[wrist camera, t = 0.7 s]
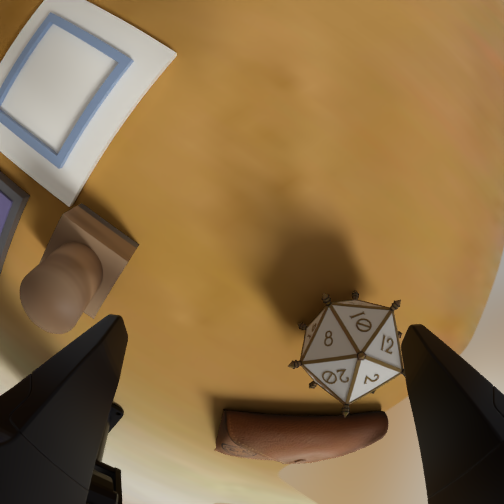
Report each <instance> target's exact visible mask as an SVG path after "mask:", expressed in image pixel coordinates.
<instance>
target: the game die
mask: <svg viewBox="0 0 504 504" xmlns="http://www.w3.org/2000/svg"><path fill="white" fill-rule="evenodd" d="M352 295H353V296H352V298H353V300H346V301H338V302H331V298H329V295H327V294H325V293H323V296H322V300H323V302H324V303H326V306H325V307H324V309H323V310H322V311H321V312H320V313H319V314H318V315H317V316H316V317H315V319H314V320H313V321H312V322H311V323H310V324H309V325H308V326H306V324H303V322H302V323H299V324H298V326H299V329H302V330H306V331H305V336H304V342H303V347H302V353H301V358H300V361H297V360H295V361H292V362H291V363H290V364H289V365H288V367H291V368H293V369H295V368H298V367H299V366H302V368H303V369H304V370H305V371H306V372H307V373H308V375H309V376H310V377H311V378H312V379H313V381H312V382H311V383H309V388H315V387H316V385H317V384H318V385H319V386H320V387H321V388H323V389H324V390H325V391H327V392H328V393H329V394H331V395H332V396H333V397H335V398H336V399H337V400H339V401H340V402H341V403H343V404H344V406H343V408H342V411H341V412H342V413H343V415H344V417H346V416H347V414H348V413H350V412H349V410H350V408H349V405H350V404H352V403H353V402H355V401H357V400H359V399H360V398H362V397H364V396H366V395H367V394H369V393H373V394H374V392H375V390H376V389H378V388H379V387H381V386H383V385H384V384H386V383H387V382H389V381H391V380H392V379H394V378H395V377H397V376H398V375H400V374H403V375H404V377H405V371H404V369H403V362H402V355H401V349H400V343H399V338H401V335H402V333H401V332H400V331H397V326H396V321H395V315H394V310H395V309H398V307H400V302H401V300H397V301H394V303H392V306H391V307H390V308H389V307H385V306H381V305H377V304H373V303H369V302H365V301H361V300H357V299H358V298H359V296H358V295H359V294H358V293H357V291H356V290H355V291H354V293H352Z"/></svg>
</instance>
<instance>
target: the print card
mask: <svg viewBox="0 0 504 504" xmlns="http://www.w3.org/2000/svg"><path fill="white" fill-rule="evenodd" d="M176 56H177V53H176V52H174V51H173V50H171V49H170V48H168V47H166V46H165V45H163V44H162V43H160V42H158V41H157V40H155V39H154V38H152V37H150V36H149V35H147V34H145V33H144V32H142V31H140V30H139V29H137V28H135V27H134V26H132V25H130V24H128V23H127V22H125V21H123V20H121V19H120V18H118V17H116V16H114V15H112V14H111V13H109V12H107V11H105V10H103V9H101V8H99V7H97V6H96V5H94V4H92V3H90V2H88V1H86V0H44V1H43V2H42V4H41V5H40V6H39V7H38V9H37V10H36V11H35V13H34V14H33V15H32V16H31V18H30V19H29V21H28V22H27V23H26V25H25V26H24V27H23V29H22V30H21V32H20V33H19V35H18V36H17V38H16V39H15V41H14V42H13V44H12V45H11V47H10V48H9V50H8V51H7V53H6V55H5V56H4V58H3V60H2V61H1V63H0V152H2V153H3V154H4V155H5V156H6V157H7V158H9V159H10V160H11V161H12V162H13V163H15V164H16V165H17V166H18V167H19V168H21V169H22V170H23V171H24V172H25V173H27V174H28V175H29V176H30V177H32V178H33V179H34V180H35V181H37V182H38V183H39V184H40V185H42V186H43V187H44V188H45V189H47V190H48V191H49V192H50V193H52V194H53V195H54V196H56V197H57V198H58V199H59V200H61V201H62V202H63V203H65V204H66V205H67V206H69V207H71V206H72V205H73V204H74V202H75V200H76V199H77V197H78V195H79V193H80V191H81V190H82V188H83V186H84V184H85V183H86V181H87V179H88V178H89V176H90V174H91V173H92V171H93V169H94V168H95V166H96V164H97V163H98V161H99V159H100V158H101V156H102V155H103V153H104V152H105V150H106V149H107V147H108V145H109V144H110V142H111V141H112V139H113V138H114V136H115V135H116V133H117V132H118V131H119V129H120V128H121V126H122V125H123V123H124V122H125V121H126V119H127V118H128V116H129V115H130V114H131V112H132V111H133V110H134V108H135V107H136V105H137V104H138V103H139V101H140V100H141V99H142V98H143V96H144V95H145V94H146V92H147V91H148V90H149V89H150V87H151V86H152V85H153V84H154V82H155V81H156V80H157V79H158V77H159V76H160V75H161V74H162V73H163V71H164V70H165V69H166V68H167V67H168V65H169V64H170V63H171V62H172V61H173V60H174V58H175V57H176Z"/></svg>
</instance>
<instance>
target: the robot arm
mask: <svg viewBox="0 0 504 504" xmlns="http://www.w3.org/2000/svg"><path fill="white" fill-rule="evenodd" d="M127 342H128V334H127V331H126V328H125V324H124V321H123V318H122V317H121V316H119V315H112V314H110V315H108V316H106V317H105V318H103V319H102V320H101V321H99V322H98V323H97V324H95V325H94V326H93V327H91V328H90V329H89V330H87V331H86V332H85V333H83V334H82V335H81V336H79V337H78V338H77V339H75V340H74V341H73V342H71V343H70V344H69V345H67V346H66V347H65V348H63V349H62V350H61V351H59V352H58V353H57V354H55V355H54V356H53V357H52V358H50V359H49V360H48V361H46V362H45V363H44V364H42V365H41V366H40V367H39V368H37V369H36V370H35V371H33V372H32V374H30V375H28V376H27V377H26V378H24V379H23V380H22V381H20V382H19V383H18V384H16V385H15V386H14V387H13V388H11V389H10V390H8V391H7V392H5V393H4V394H2V395H1V396H0V504H122V488H121V470H120V469H118V468H116V467H115V468H113V467H111V466H109V465H107V464H105V463H103V462H102V457H103V453H104V448H105V444H106V440H107V436H108V433H109V432H110V431H111V429H112V428H113V427H114V426H115V425H116V424H117V422H118V421H119V420H120V419H121V418H122V416H123V414H124V411H123V409H121V408H119V407H117V406H115V405H113V404H112V402H113V399H114V396H115V392H116V389H117V386H118V383H119V379H120V374H121V369H122V365H123V360H124V355H125V351H126V346H127ZM401 351H402V358H403V364H404V371H405V378H406V385H407V391H408V395H409V399H410V403H411V408H412V412H413V417H414V422H415V426H416V431H417V436H418V441H419V447H420V452H421V458H422V463H423V469H424V476H425V482H426V489H427V496H428V504H504V394H502V393H501V392H500V391H499V390H498V389H497V388H496V387H495V386H493V385H492V384H491V383H490V382H489V381H488V380H487V379H486V378H484V377H483V376H482V375H480V373H479V372H478V371H477V370H475V369H474V368H473V367H472V366H471V365H470V364H468V363H467V362H466V361H465V360H464V359H463V358H462V357H460V356H459V355H458V354H457V353H456V352H455V351H453V350H452V349H451V348H450V347H449V346H447V345H446V344H445V343H444V342H443V341H442V340H440V339H439V338H438V337H437V336H436V335H434V334H433V333H432V332H431V331H430V330H428V329H427V328H426V327H425V326H423V325H422V324H413V325H410V326H409V328H408V330H407V332H406V334H405V337H404V339H403V341H402V344H401Z"/></svg>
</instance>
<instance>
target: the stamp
mask: <svg viewBox="0 0 504 504" xmlns="http://www.w3.org/2000/svg"><path fill="white" fill-rule="evenodd" d="M138 246H139V244H138V243H136V242H135V241H133V240H132V239H130V238H129V237H128V236H126V235H125V234H123V233H122V232H121V231H119V230H118V229H116V228H115V227H114V226H112V225H111V224H109V223H108V222H107V221H105V220H104V219H103V218H101V217H100V216H98V215H97V214H96V213H94V212H93V211H92V210H90V209H89V208H88V207H86V206H85V205H84V204H82V203H81V204H79V205H78V206H76V207H74V208H72V209H71V210H69V211H67V212H65V213H64V214H62V216H61V218H60V220H59V222H58V224H57V226H56V228H55V230H54V233H53V235H52V237H51V239H50V241H49V243H48V245H47V248H46V250H45V252H44V254H43V257H42V259H41V261H40V264H39V265H38V266H36V267H35V268H34V269H33V270H32V271H31V272H30V273H28V274H27V275H26V276H25V277H24V279H23V280H22V283H21V286H20V299H21V303H22V306H23V308H24V310H25V312H26V314H27V315H28V317H29V318H30V319H31V320H32V322H33V323H35V324H36V325H37V326H38V327H40V328H41V329H43V330H45V331H47V332H50V333H54V334H63V333H66V332H68V331H70V330H71V329H72V328H73V327H74V326H75V325H76V323H77V321H78V320H79V318H80V316H81V315H82V313H83V312H84V313H86V314H87V315H88V316H90V317H91V318H93V319H94V317H95V316H96V314H97V312H98V310H99V309H100V307H101V305H102V304H103V302H104V300H105V299H106V297H107V295H108V294H109V292H110V290H111V289H112V287H113V285H114V284H115V282H116V281H117V279H118V277H119V276H120V274H121V273H122V271H123V269H124V268H125V266H126V265H127V263H128V262H129V260H130V258H131V257H132V255H133V253H134V252H135V250H136V249H137V247H138Z"/></svg>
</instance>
